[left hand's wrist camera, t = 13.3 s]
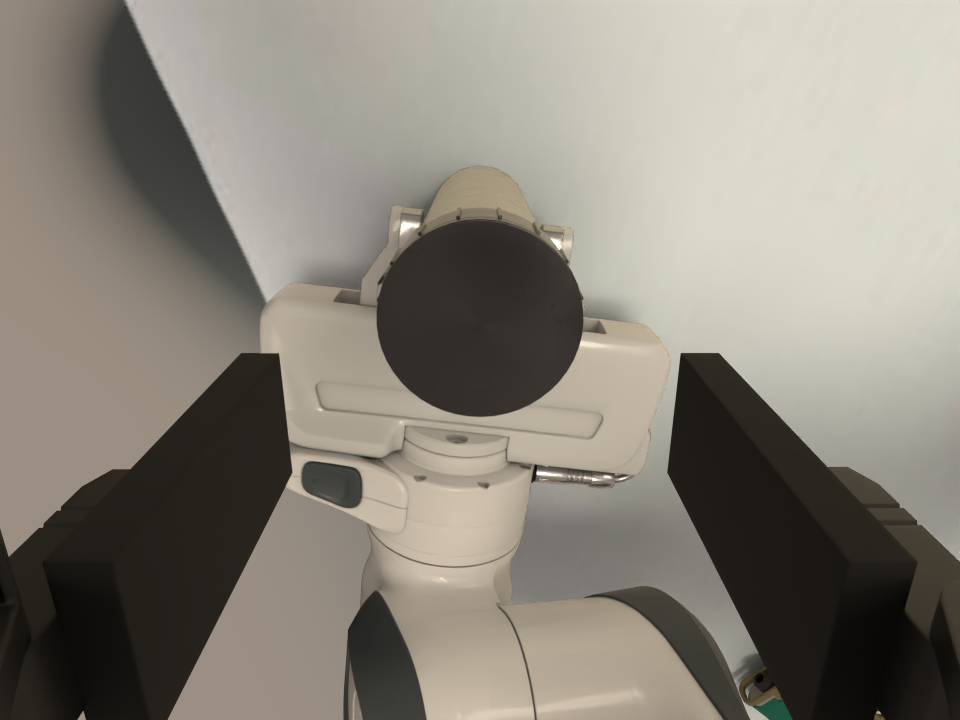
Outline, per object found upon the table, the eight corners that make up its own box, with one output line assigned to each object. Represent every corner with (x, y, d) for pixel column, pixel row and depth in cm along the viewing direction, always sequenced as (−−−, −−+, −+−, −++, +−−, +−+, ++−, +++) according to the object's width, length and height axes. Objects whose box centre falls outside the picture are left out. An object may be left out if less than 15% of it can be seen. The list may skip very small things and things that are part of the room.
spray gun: (982, 716, 53) (797, 779, 56) (924, 574, 47) (721, 654, 50) (1021, 769, 49) (821, 834, 52) (964, 622, 43) (741, 705, 46)
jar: (528, 165, 37) (575, 226, 19) (526, 261, 39) (567, 401, 21) (431, 166, 37) (383, 228, 19) (434, 262, 39) (393, 403, 21)
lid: (578, 205, 21) (590, 217, 18) (571, 389, 23) (580, 417, 21) (379, 207, 21) (368, 218, 18) (390, 390, 23) (381, 419, 21)
